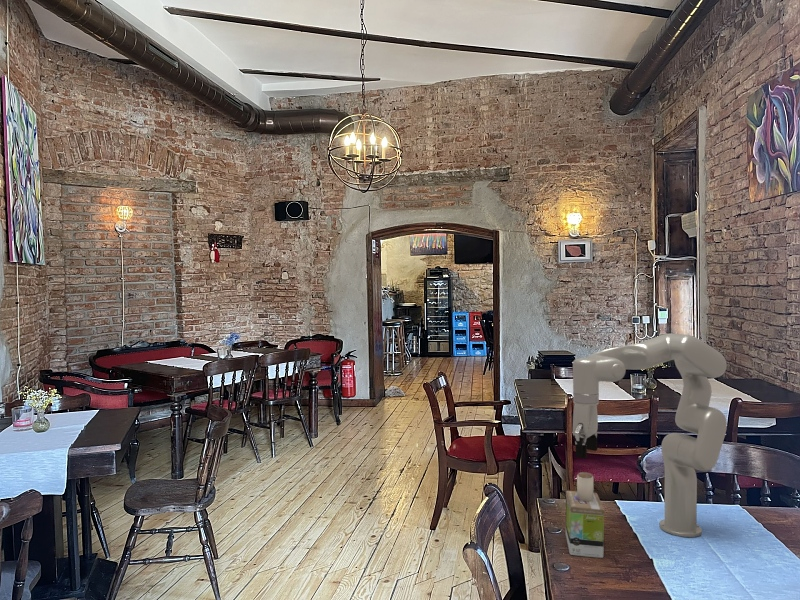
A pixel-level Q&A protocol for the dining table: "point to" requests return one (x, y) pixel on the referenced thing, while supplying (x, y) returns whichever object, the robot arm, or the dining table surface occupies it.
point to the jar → (585, 486)
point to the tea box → (584, 526)
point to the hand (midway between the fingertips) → (586, 453)
